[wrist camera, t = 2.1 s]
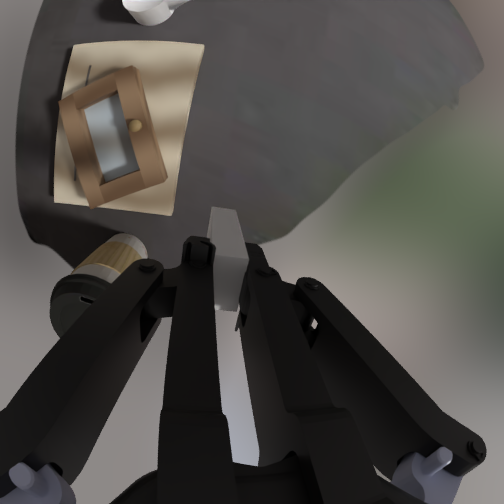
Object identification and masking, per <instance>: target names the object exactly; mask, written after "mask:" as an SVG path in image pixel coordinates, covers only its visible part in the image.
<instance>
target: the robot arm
mask: <svg viewBox="0 0 504 504" xmlns="http://www.w3.org/2000/svg"><path fill="white" fill-rule="evenodd" d="M238 304H239V305H240V311H239V315H238V319H237V323H236V327H235V331H237V330H238V328H239V329H240V335H241V343H242V349H243V356H244V362H245V368H246V374H247V381H248V387H249V393H250V399H251V405H252V410H253V416H254V422H255V427H256V433H257V439H258V444H259V451H260V452H259V461H258V466H251V465H245V464H240V463H235V462H233V460H232V453H231V445H230V436H229V428H228V421H227V418H226V416H225V415H224V414H223V413H222V407H221V395H220V383H219V370H218V356H217V340H216V323H215V310H226V311H237V308H238ZM164 317H172V325H171V331H170V339H169V348H168V356H167V364H166V374H165V384H164V396H163V407H162V410H161V414H160V424H159V441H158V469H157V470H155V471H152V472H150V473H148V474H146V475H144V476H142V477H141V478H139V479H137V480H136V481H135V482H134V483H133V484H131V485H130V486H129V487H128V488H127V489H126V490H125V491H123V492H122V493H121V494H120V495H119V496H118V497H117V498H115V499H114V500H113V501H112V502H111V503H110V504H452V502H453V500H454V498H455V495H456V493H457V490H458V488H459V485H460V482H461V480H462V477H463V476H464V475H465V474H467V473H468V472H470V471H471V470H473V469H474V468H475V467H477V466H478V465H480V464H481V463H482V462H483V461H484V460H485V457H486V446H485V443H484V441H483V439H482V438H481V437H480V436H479V435H477V434H476V433H474V432H473V431H471V430H470V429H468V428H467V427H465V426H464V425H462V424H460V423H459V422H457V421H456V420H455V419H453V418H452V417H450V416H449V415H447V414H446V413H444V412H443V411H442V410H441V409H440V408H439V407H438V406H437V404H436V403H435V402H434V401H433V400H432V399H431V398H430V397H429V396H428V394H427V393H426V392H425V391H424V390H423V389H422V388H421V387H420V386H419V384H418V383H417V382H416V381H415V380H414V379H413V378H412V377H411V376H410V375H409V374H408V372H407V371H406V370H405V369H404V368H403V367H402V366H401V365H400V364H399V363H398V362H397V361H396V360H395V358H394V357H393V356H392V355H391V354H390V353H389V352H388V351H387V350H386V349H385V348H384V347H383V346H382V345H381V344H380V342H379V341H378V340H377V339H376V338H375V337H374V336H373V335H372V334H371V333H370V332H369V331H368V330H367V329H366V328H365V327H364V326H363V325H362V324H361V323H360V322H359V320H358V319H357V318H356V317H355V316H354V315H353V314H352V313H351V312H350V311H349V310H348V309H347V308H346V307H345V306H344V305H343V304H342V303H341V302H340V301H339V300H338V299H337V298H336V297H335V296H334V295H333V294H332V293H331V292H330V291H329V290H328V289H327V288H326V287H325V286H324V285H323V284H322V283H321V282H319V281H317V280H316V279H313V278H310V277H308V278H307V277H302V278H299V279H298V280H297V282H296V285H294V284H291V283H287V282H284V281H282V280H281V277H280V275H279V273H278V272H277V271H276V270H275V269H273V268H271V267H269V265H268V263H267V260H266V258H265V255H264V252H263V250H262V248H260V246H258V245H257V244H253V243H246V242H244V239H243V235H242V231H241V228H240V224H239V220H238V217H237V213H236V210H232V209H225V208H219V207H212V209H211V215H210V221H209V227H208V233H207V238H205V237H197V236H190V237H189V238H188V239H187V240H186V241H185V242H184V244H183V252H182V261H181V265H180V266H178V267H176V268H172V269H164V267H163V265H162V264H161V263H160V262H159V261H156V260H154V259H149V258H146V259H145V258H143V259H139V260H136V261H134V262H133V263H132V264H131V265H130V266H128V267H127V268H126V269H125V270H124V271H123V272H122V273H121V274H120V275H119V276H118V277H117V278H116V279H115V280H114V281H113V282H112V283H111V284H110V285H109V286H108V287H107V288H106V289H105V290H104V291H103V292H102V294H101V295H100V296H99V297H98V298H97V299H96V300H95V301H94V302H93V303H92V304H91V305H90V306H89V307H88V308H87V309H86V310H85V311H84V312H83V314H82V315H81V316H80V317H79V318H78V319H77V320H76V321H75V322H74V323H73V325H72V326H71V327H70V328H69V329H68V330H67V331H66V332H65V334H64V335H63V336H62V337H61V338H60V339H59V341H58V342H57V343H56V344H55V345H54V346H53V348H52V349H51V350H50V351H49V352H48V353H47V355H46V356H45V357H44V358H43V359H42V361H41V362H40V363H39V365H38V366H37V367H36V368H35V369H34V371H33V372H32V373H31V374H30V376H29V377H28V378H27V380H26V381H25V382H24V383H23V385H22V386H21V388H20V389H19V390H18V391H17V393H16V394H15V396H14V397H13V398H12V400H11V401H10V403H9V404H8V405H7V407H6V408H4V409H3V410H2V411H0V504H76V498H75V494H74V492H73V490H72V488H71V487H70V485H71V484H72V483H73V482H74V480H75V479H76V477H77V476H78V475H79V474H80V472H81V471H82V469H83V467H84V465H85V463H86V462H87V460H88V458H89V456H90V454H91V452H92V449H93V447H94V445H95V443H96V441H97V439H98V437H99V435H100V433H101V431H102V429H103V427H104V425H105V423H106V421H107V419H108V417H109V415H110V413H111V411H112V409H113V407H114V406H115V404H116V402H117V400H118V398H119V396H120V394H121V392H122V390H123V389H124V387H125V385H126V383H127V381H128V379H129V378H130V376H131V374H132V372H133V370H134V368H135V366H136V365H137V363H138V361H139V359H140V358H141V356H142V354H143V352H144V350H145V349H146V347H147V345H148V343H149V342H150V340H151V338H152V337H153V335H154V333H155V331H156V330H157V328H158V326H159V324H160V322H161V318H164ZM314 319H315V320H316V321H317V323H318V324H317V327H316V329H314V328H313V327H312V326H311V325H312V322H313V320H314ZM373 465H374V466H375V467H376V468H377V469H378V470H379V471H380V472H381V473H382V474H383V475H384V476H386V477H387V478H388V479H390V480H391V482H388V481H386V480H384V479H383V478H381V477H380V476H378V475H377V473H376V471H375V468H374V466H373Z"/></svg>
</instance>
